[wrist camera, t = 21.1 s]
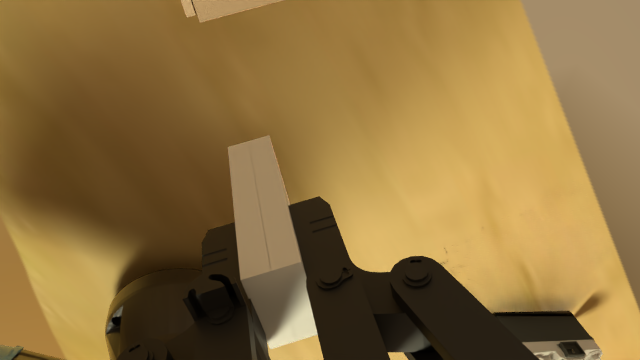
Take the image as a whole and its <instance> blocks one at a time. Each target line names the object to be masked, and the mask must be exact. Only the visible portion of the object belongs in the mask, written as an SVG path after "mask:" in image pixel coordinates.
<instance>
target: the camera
mask: <svg viewBox="0 0 640 360" xmlns="http://www.w3.org/2000/svg"><path fill="white" fill-rule="evenodd" d="M492 314H493V315H494V316H495V317H496V318H497V319H498V320H499V321H500V322H501V323H502V324H503V325H504V326H505V327H506V328H507V329H508V330H509V331H510V332H511V333H512V334H514V335H515V336H516V337H517V338H518V339H519V340H520V341H521V342H522V343H523V344H524V345H525V346H526V347H527V348H528V349H529V350H530V351H531V352H532V353H533V354H534V355H535V356H536V357H537V358H539V359H540V360H601V359H600V357H601V356H602V354H603V353H602V351H601V349H600V348H599V347H598V345H597V344H596V343H595V341H594V339H593V338H592V337H591V336H590V335H589V334H588V333H587V332H586V330H585V329H584V328H583V327H582V326H581V324H580V323H579V322H578V321H577V319H576V318H575V317H574V315H573V314H572V313H571V312H570V311H533V312H494V313H492Z"/></svg>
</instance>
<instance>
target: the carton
mask: <svg viewBox="0 0 640 360" xmlns="http://www.w3.org/2000/svg"><path fill="white" fill-rule="evenodd" d="M280 1H284V0H181V3H182V5H183V8H184V11H185V14H186V17H191V16H194V15H196V13H197V16H198V19H199V21H200V23H201V22H204V21H208V20H212V19H216V18H220V17H223V16H227V15H231V14H235V13H238V12H242V11H246V10H250V9H253V8H257V7H261V6H265V5H268V4H272V3H276V2H280Z"/></svg>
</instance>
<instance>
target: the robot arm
mask: <svg viewBox="0 0 640 360" xmlns="http://www.w3.org/2000/svg"><path fill="white" fill-rule="evenodd" d="M228 155H229V166H230V176H231V186H232V197H233V207H234V218H235V222H234V223H231V224H228V225H224V226H221V227H217V228H214V229H211V230H208V232H207V234H206V236H205V238H204V240H203V242H202V257H203V258H202V267H203V268H202V271H200V270H194V269H168V270H162V271H157V272H154V273H150V274H147V275H145V276H142V277H140V278H138V279H136V280H134V281H133V282H131V283H129V284H128V285H127V286H125V287H124V288H123V289H122V290H121V291H120V292H119V293H118V294H117V295H116V297H115V298H114V299H113V301H112V303H111V305H110V308H109V312H108V317H107V322H106V327H105V337H106V342H107V347H108V351H109V355H110V360H271V359H270V357H269V354H268V347H267V343H268V345H269V347H270V349H273V348H276V347H279V346H283V345H286V344H289V343H292V342H296V341H299V340H302V339H305V338H309V337H312V336H315V335H318V337H319V342H320V346H321V350H322V354H323V358H324V360H390V358H389V355H388V353H387V352H404V354H405V355H406V357H407V358H408V359H409V360H540V359H539V358H537V357H536V356H535V355H534V354H533V353H532V352H531V351H530V350H529V349H528V348H527V347H526V346H525V345H524V344H523V343H522V342H521V341H520V340H519V339H518V338H517V337H516V336H515V335H514V334H512V333H511V332H510V331H509V330H508V329H507V328H506V327H505V326H504V325H503V324H502V323H501V322H500V321H499V320H498V319H497V318H496V317H495V316H494V315H493V314H492V313H491V312H490V311H489V310H487V309H486V308H485V307H484V306H483V305H482V304H481V303H480V302H479V301H478V300H477V299H476V298H475V297H474V296H473V295H472V294H471V293H470V292H469V291H468V290H467V289H466V288H465V287H463V286H462V285H461V284H460V283H459V282H458V281H457V280H456V279H455V278H454V277H453V276H452V275H451V274H450V273H449V272H448V271H447V270H446V269H445V268H444V267H443V266H442V265H441V264H439V263H438V262H436V261H435V260H433V259H432V258H428V257H424V256H411V257H408V258H405V259H402V260H401V261H399V262H398V263H397V264H395V265H394V267H393V268H392V270H391V272H380V273H378V272H368V271H364V270H362V269H360V268H358V267H357V266H355V265H354V264H353V263H352V261H351V259H350V258H349V255H348V252H347V250H346V247H345V244H344V242H343V239H342V236H341V234H340V231H339V229H338V226H337V223H336V221H335V218H334V215H333V213H332V210H331V207H330V205H329V204H328V203H327V202H326V201H324V200H323V199H322V198H321V197H316V198H312V199H309V200H305V201H302V202H299V203H295V204H292V205H290V202H289V198H288V194H287V191H286V188H285V185H284V181H283V178H282V175H281V171H280V168H279V165H278V162H277V158H276V155H275V152H274V149H273V145H272V142H271V139H270V136H269V135H268V136H264V137H261V138H257V139H254V140H250V141H247V142H243V143H240V144H236V145H233V146H229V147H228ZM0 360H65V359H61V358H56V357H52V356H48V355H44V354H39V353H35V352H31V351H27V350H23V347H21V346H16V347H9V346H3V345H0Z"/></svg>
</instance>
